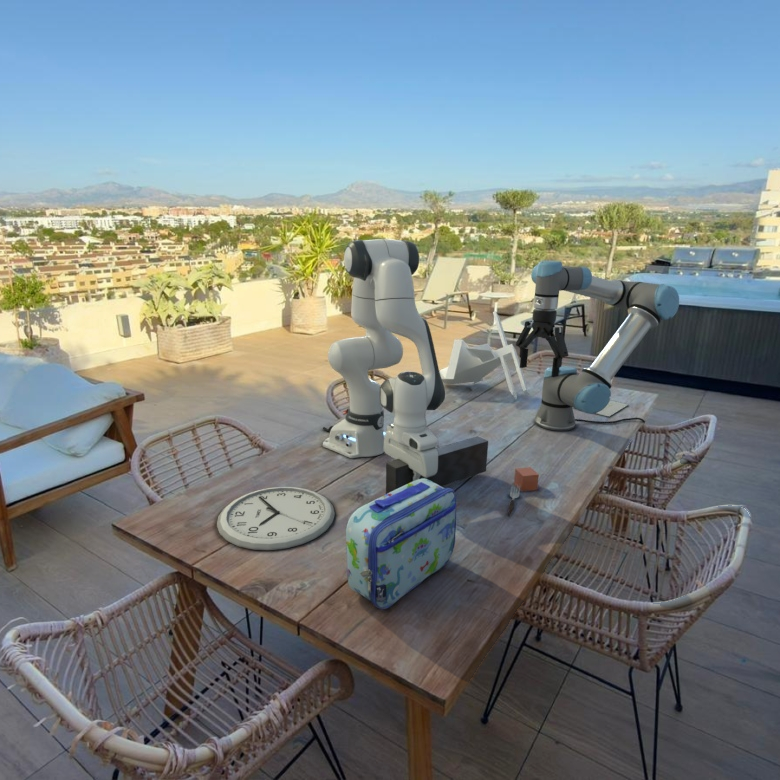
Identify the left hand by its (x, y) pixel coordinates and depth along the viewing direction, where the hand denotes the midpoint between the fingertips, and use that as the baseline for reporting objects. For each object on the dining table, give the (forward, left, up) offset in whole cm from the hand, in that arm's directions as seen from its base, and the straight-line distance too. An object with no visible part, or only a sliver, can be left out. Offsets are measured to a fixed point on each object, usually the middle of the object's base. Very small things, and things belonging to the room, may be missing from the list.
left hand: (408, 479), depth 144 cm
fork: (+25, +14, -7) cm, 30 cm away
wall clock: (-25, -26, -7) cm, 37 cm away
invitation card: (+32, +116, -7) cm, 120 cm away
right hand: (+18, +58, +20) cm, 64 cm away
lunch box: (+16, -31, -7) cm, 36 cm away
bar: (+5, +10, -4) cm, 12 cm away
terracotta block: (+26, +26, -7) cm, 37 cm away
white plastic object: (-20, +106, -7) cm, 108 cm away
